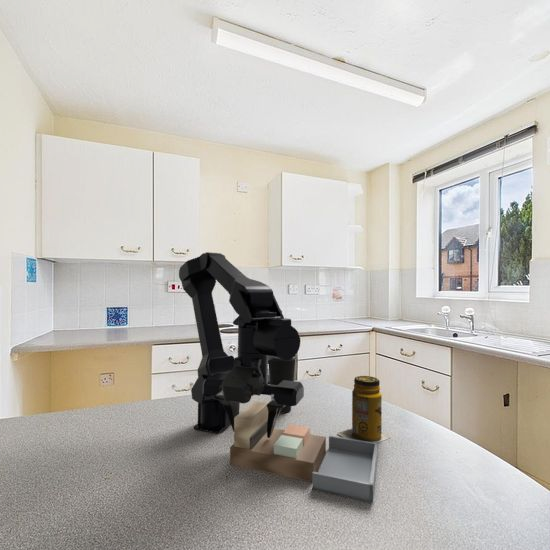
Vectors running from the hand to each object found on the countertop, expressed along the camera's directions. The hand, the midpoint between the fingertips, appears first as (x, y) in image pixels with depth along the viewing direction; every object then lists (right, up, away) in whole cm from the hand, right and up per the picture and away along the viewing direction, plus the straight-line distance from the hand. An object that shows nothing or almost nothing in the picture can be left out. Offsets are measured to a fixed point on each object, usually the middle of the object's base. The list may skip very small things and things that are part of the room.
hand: (252, 434), depth 63 cm
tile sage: (+7, 0, -5) cm, 8 cm away
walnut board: (+5, -4, -2) cm, 7 cm away
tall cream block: (0, -1, 0) cm, 0 cm away
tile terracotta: (+8, -1, 0) cm, 8 cm away
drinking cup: (+6, -5, +22) cm, 23 cm away
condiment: (+23, -4, +7) cm, 25 cm away
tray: (+17, -3, -6) cm, 18 cm away
